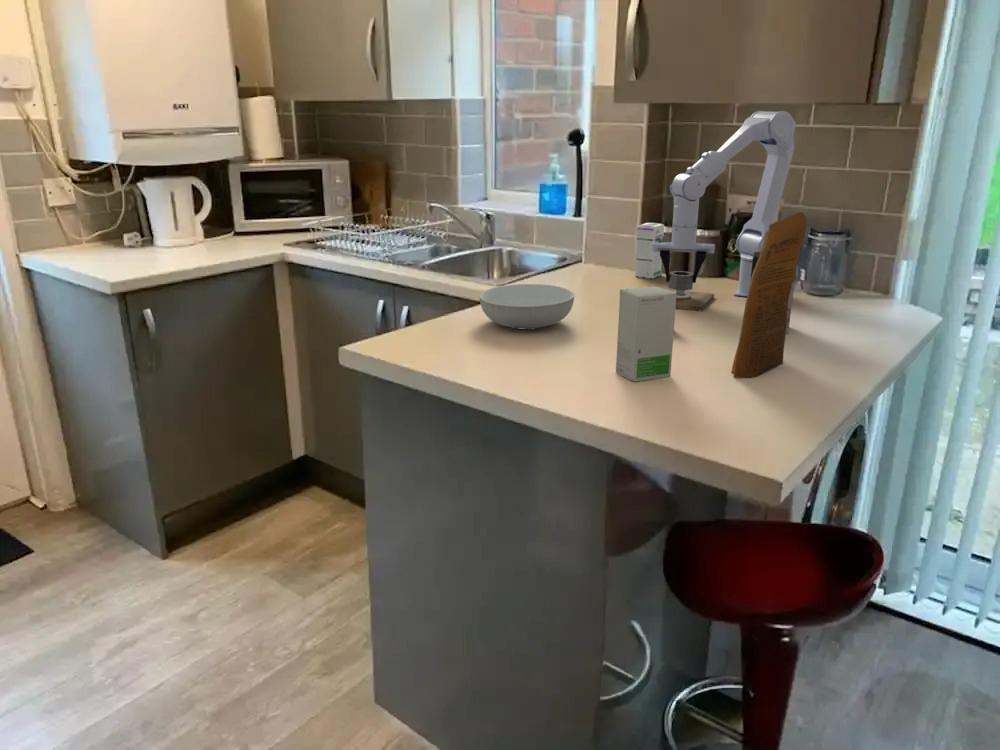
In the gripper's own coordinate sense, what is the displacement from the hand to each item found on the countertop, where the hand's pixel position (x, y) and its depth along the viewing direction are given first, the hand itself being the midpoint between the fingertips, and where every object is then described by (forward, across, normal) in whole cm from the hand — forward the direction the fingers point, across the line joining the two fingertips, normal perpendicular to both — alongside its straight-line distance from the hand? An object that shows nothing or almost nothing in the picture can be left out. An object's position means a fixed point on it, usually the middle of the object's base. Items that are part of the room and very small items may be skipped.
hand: (680, 281), depth 191 cm
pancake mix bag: (+5, -14, +49) cm, 51 cm away
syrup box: (+5, +8, -28) cm, 30 cm away
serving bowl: (+5, +34, +26) cm, 43 cm away
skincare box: (+5, +8, +56) cm, 57 cm away
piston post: (+5, 0, 0) cm, 5 cm away
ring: (+2, 0, 0) cm, 2 cm away
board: (+5, 0, 0) cm, 5 cm away
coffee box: (+5, -18, +21) cm, 28 cm away
